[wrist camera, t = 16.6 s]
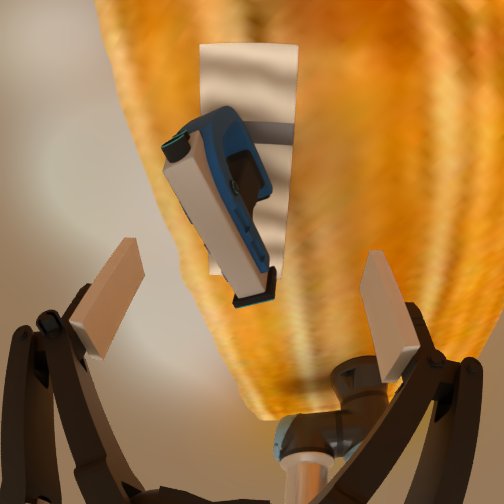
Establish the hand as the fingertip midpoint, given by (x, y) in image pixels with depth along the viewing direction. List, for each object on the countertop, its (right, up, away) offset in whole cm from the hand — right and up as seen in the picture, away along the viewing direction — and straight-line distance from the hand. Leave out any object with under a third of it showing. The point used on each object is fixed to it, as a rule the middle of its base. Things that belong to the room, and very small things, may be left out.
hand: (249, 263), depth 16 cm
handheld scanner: (-1, +13, +22) cm, 26 cm away
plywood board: (-1, +12, +24) cm, 27 cm away
